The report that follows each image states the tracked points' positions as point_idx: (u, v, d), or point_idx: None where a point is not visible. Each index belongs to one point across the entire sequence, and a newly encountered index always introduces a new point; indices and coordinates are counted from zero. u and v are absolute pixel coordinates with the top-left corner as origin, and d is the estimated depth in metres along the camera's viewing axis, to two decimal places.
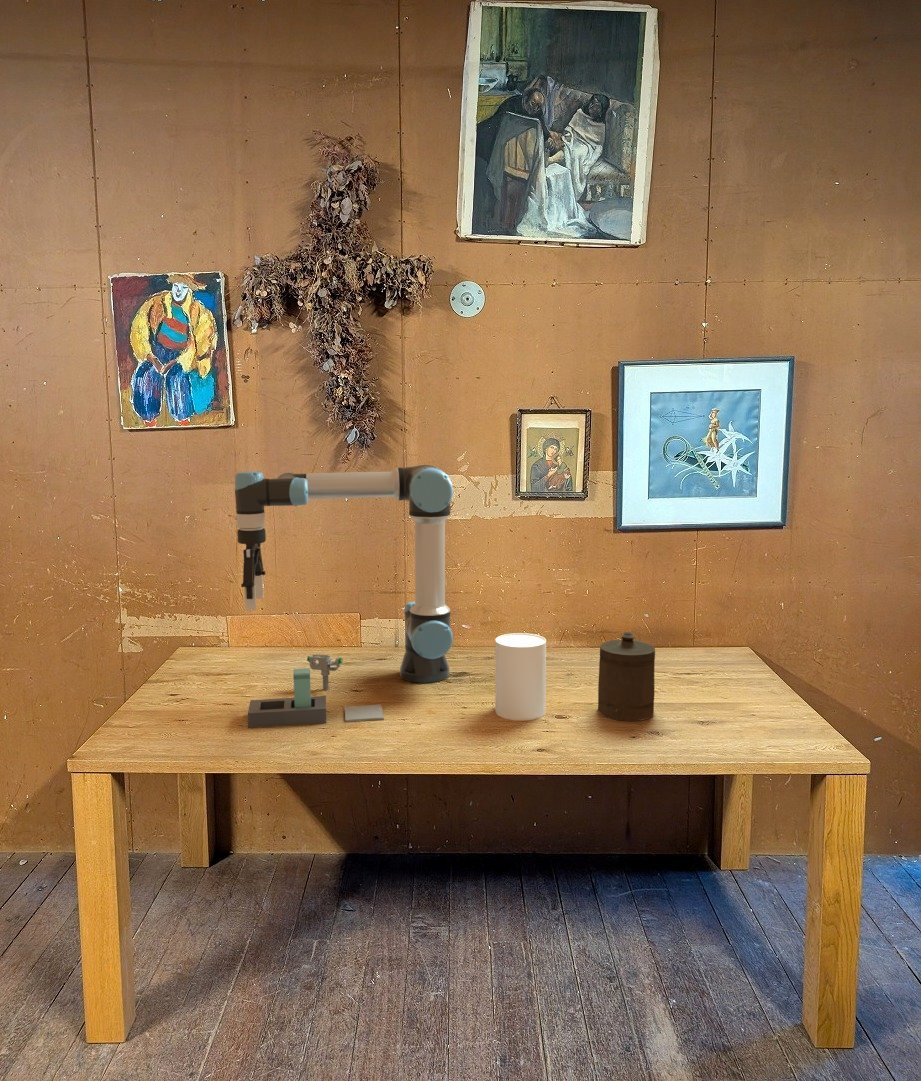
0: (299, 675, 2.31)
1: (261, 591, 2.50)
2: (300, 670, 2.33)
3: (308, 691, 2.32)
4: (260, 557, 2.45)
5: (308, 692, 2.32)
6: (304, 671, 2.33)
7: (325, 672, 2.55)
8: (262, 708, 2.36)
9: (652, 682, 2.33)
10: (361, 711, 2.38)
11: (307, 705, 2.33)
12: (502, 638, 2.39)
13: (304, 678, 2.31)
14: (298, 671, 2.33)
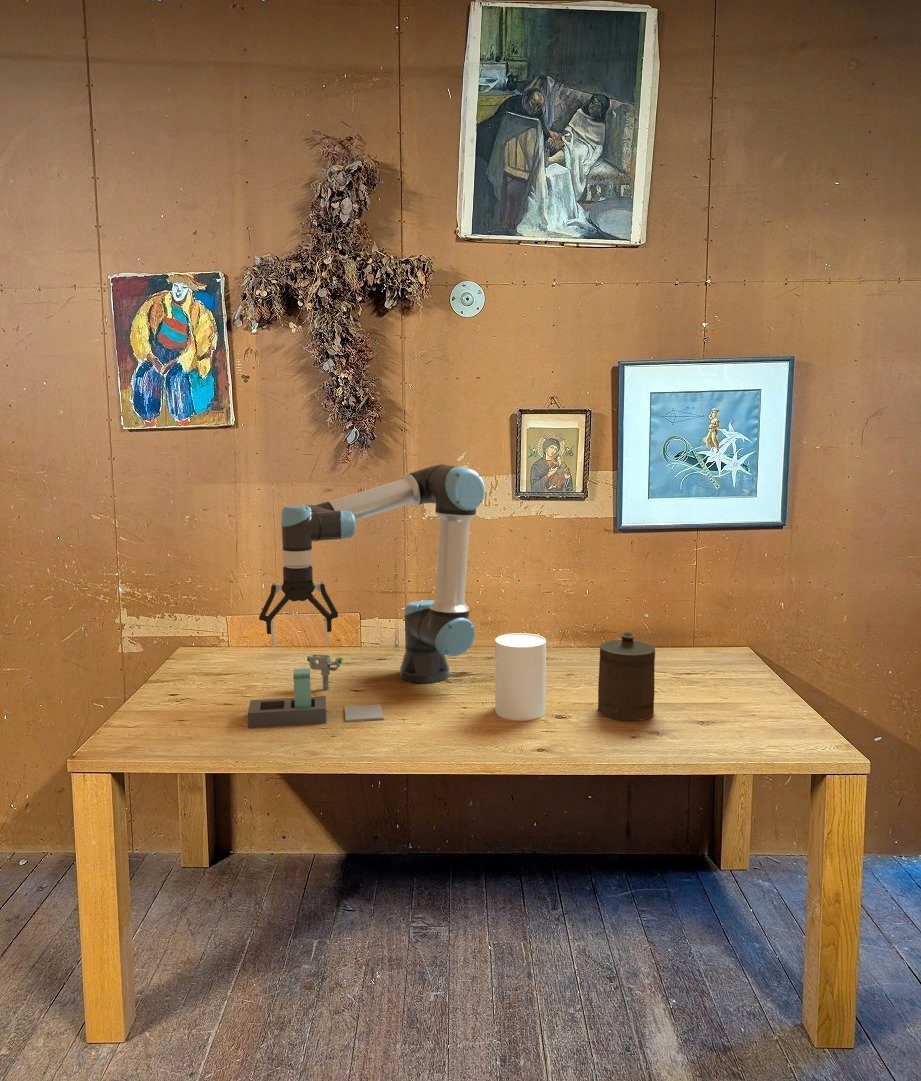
0: (299, 675, 2.31)
1: (324, 637, 2.31)
2: (300, 670, 2.33)
3: (308, 691, 2.32)
4: (309, 599, 2.28)
5: (308, 692, 2.32)
6: (304, 671, 2.33)
7: (325, 672, 2.55)
8: (262, 708, 2.36)
9: (652, 682, 2.33)
10: (361, 711, 2.38)
11: (307, 705, 2.33)
12: (502, 638, 2.39)
13: (304, 678, 2.31)
14: (298, 671, 2.33)
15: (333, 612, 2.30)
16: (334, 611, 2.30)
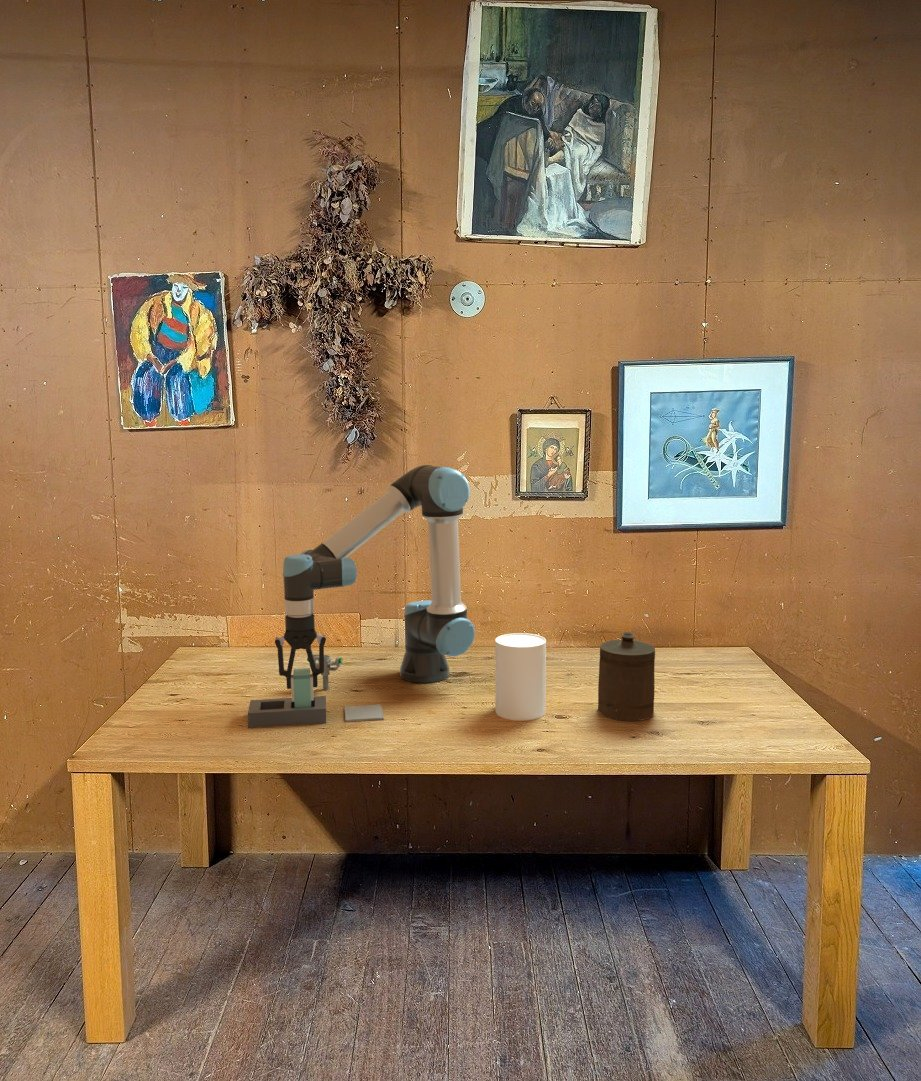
0: (299, 675, 2.31)
1: (310, 692, 2.33)
2: (300, 670, 2.33)
3: (308, 691, 2.32)
4: (306, 649, 2.31)
5: (308, 692, 2.32)
6: (304, 671, 2.33)
7: (325, 672, 2.55)
8: (262, 708, 2.36)
9: (652, 682, 2.33)
10: (361, 711, 2.38)
11: (307, 705, 2.33)
12: (502, 638, 2.39)
13: (304, 678, 2.31)
14: (298, 671, 2.33)
15: (321, 667, 2.32)
16: (322, 667, 2.32)
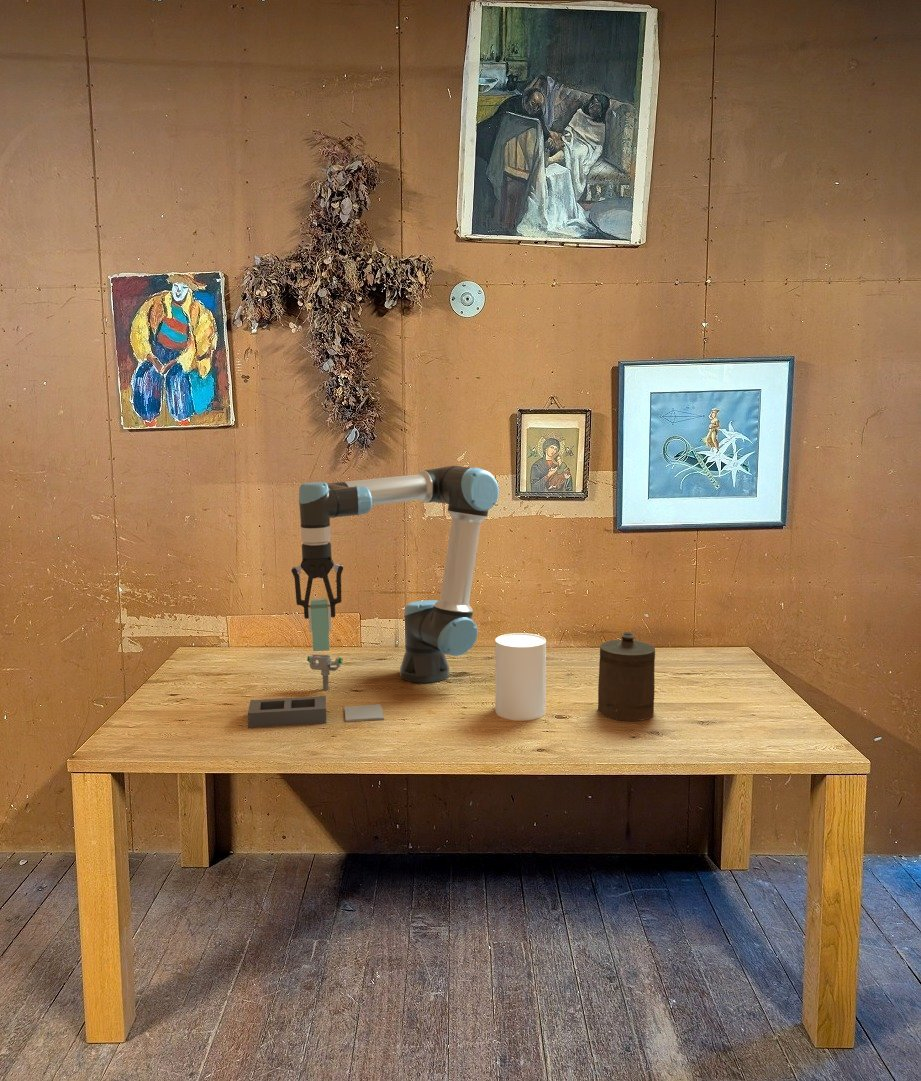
0: (316, 604, 2.29)
1: (328, 622, 2.31)
2: (318, 600, 2.31)
3: (326, 621, 2.30)
4: (324, 578, 2.28)
5: (326, 622, 2.30)
6: (321, 601, 2.30)
7: (325, 672, 2.55)
8: (262, 708, 2.36)
9: (652, 682, 2.33)
10: (361, 711, 2.38)
11: (324, 635, 2.30)
12: (502, 638, 2.39)
13: (321, 607, 2.29)
14: (315, 600, 2.31)
15: (338, 596, 2.30)
16: (339, 596, 2.30)
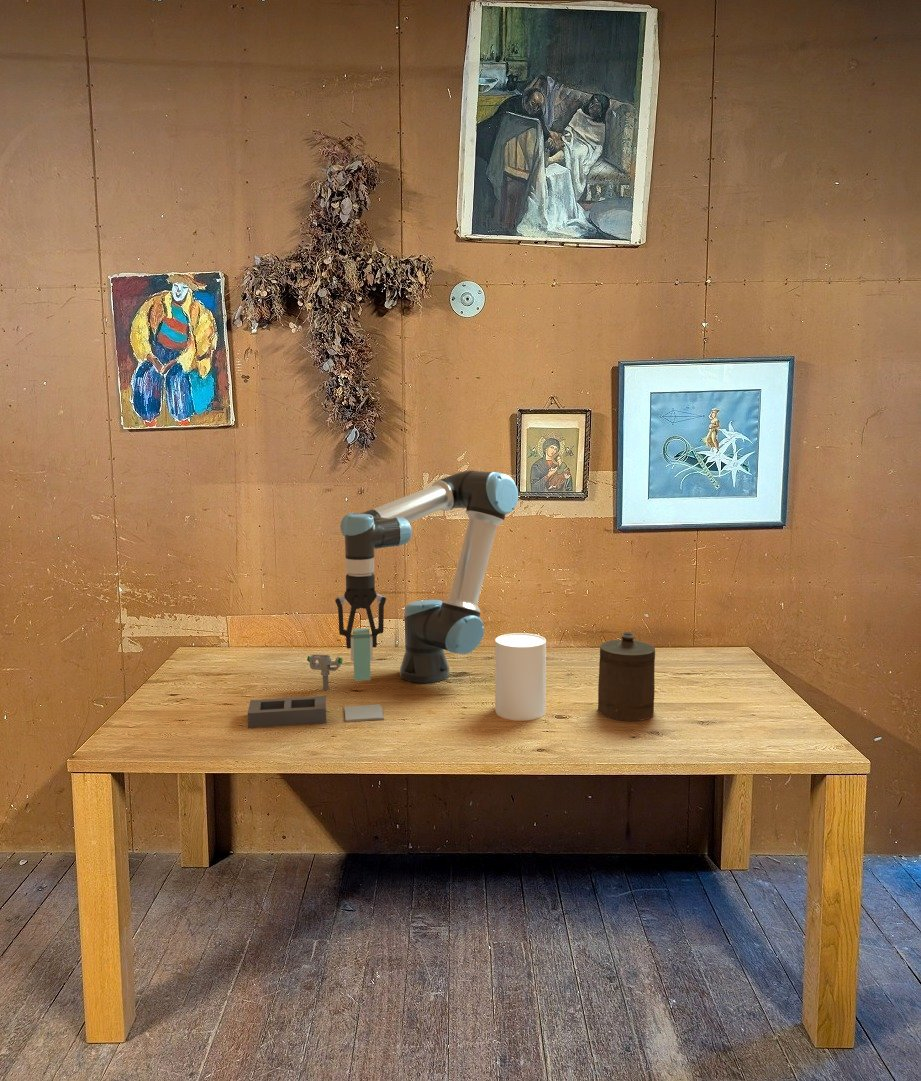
0: (359, 634, 2.32)
1: None
2: (360, 630, 2.34)
3: (368, 651, 2.33)
4: (367, 608, 2.31)
5: (368, 652, 2.33)
6: (364, 631, 2.33)
7: (325, 672, 2.55)
8: (262, 708, 2.36)
9: (652, 682, 2.33)
10: (361, 711, 2.38)
11: (366, 665, 2.33)
12: (502, 638, 2.39)
13: (364, 638, 2.32)
14: (357, 630, 2.33)
15: (380, 627, 2.33)
16: (382, 627, 2.33)
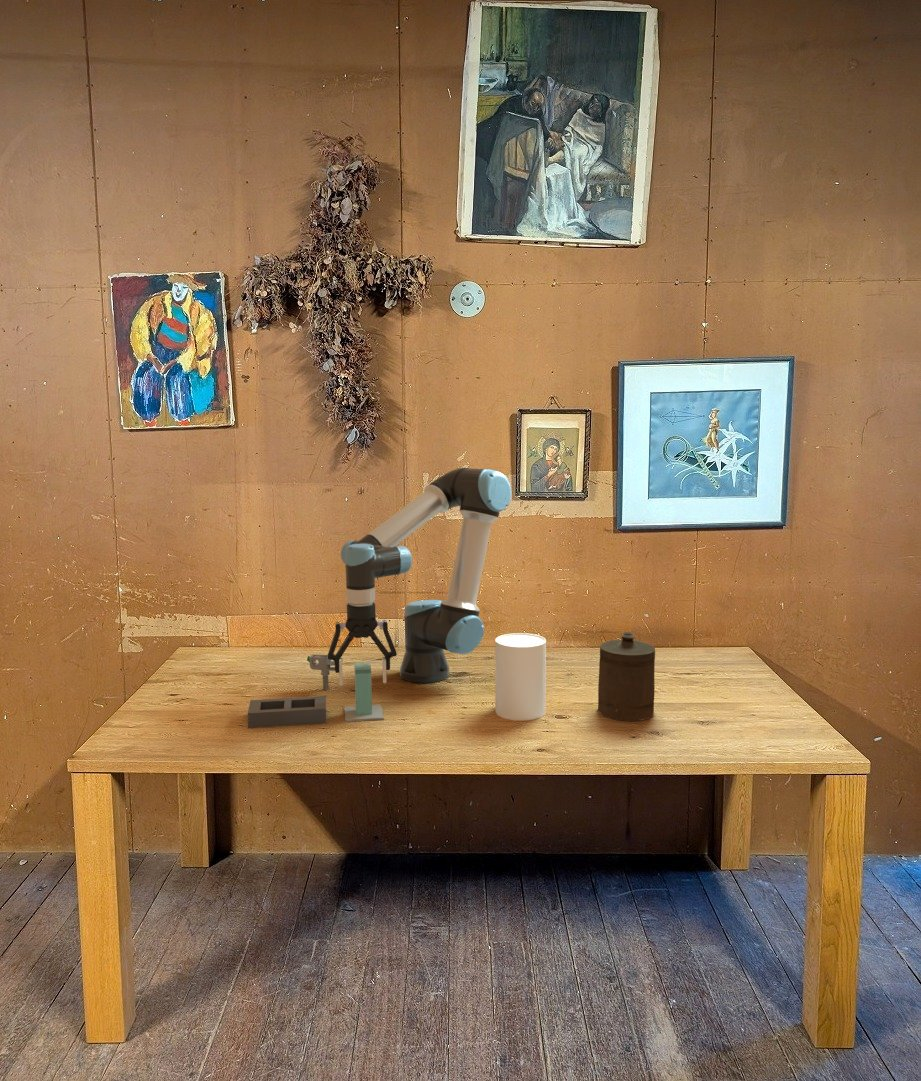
0: (360, 669, 2.33)
1: (383, 675, 2.36)
2: (361, 665, 2.35)
3: (369, 685, 2.34)
4: (371, 636, 2.33)
5: (369, 686, 2.34)
6: (365, 666, 2.35)
7: (325, 672, 2.55)
8: (262, 708, 2.36)
9: (652, 682, 2.33)
10: None
11: (367, 700, 2.35)
12: (502, 638, 2.39)
13: (365, 673, 2.34)
14: (359, 665, 2.35)
15: (392, 650, 2.35)
16: (393, 650, 2.35)
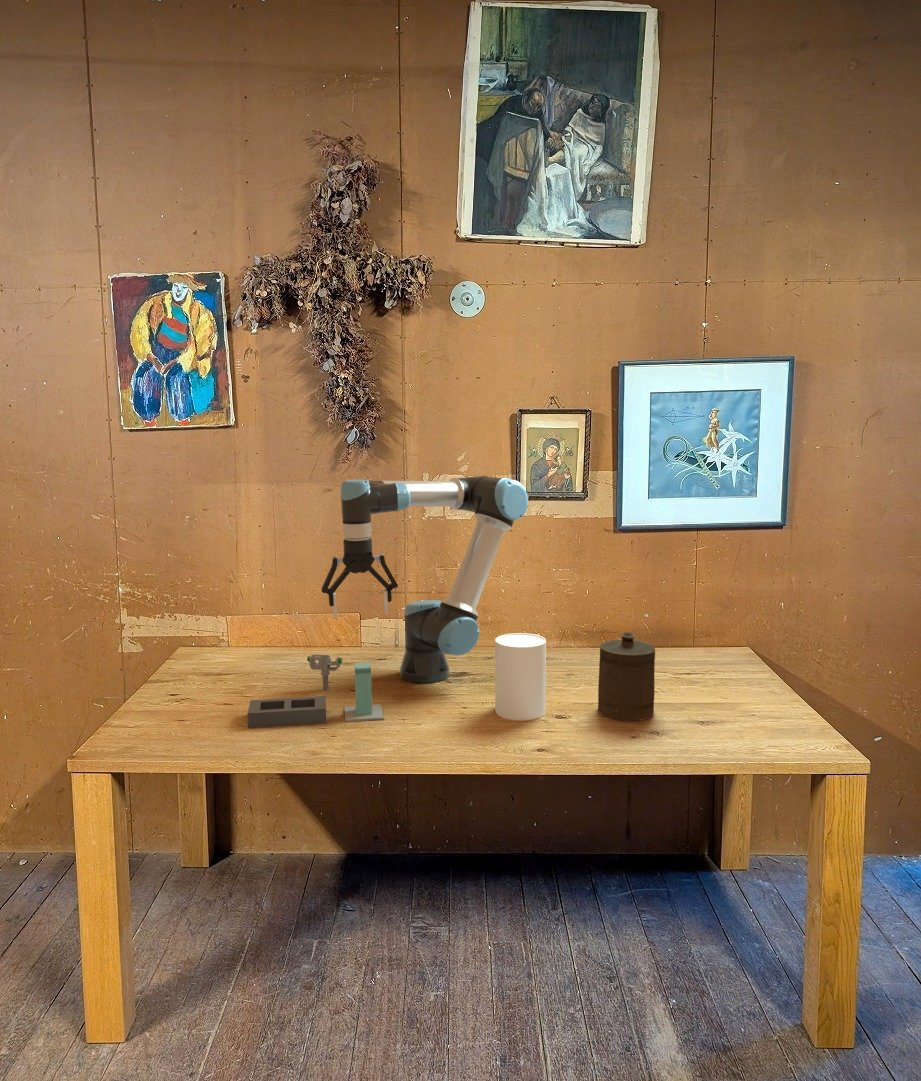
0: (360, 669, 2.33)
1: (385, 607, 2.38)
2: (361, 665, 2.35)
3: (369, 685, 2.34)
4: (370, 570, 2.34)
5: (369, 686, 2.34)
6: (365, 666, 2.35)
7: (325, 672, 2.55)
8: (262, 708, 2.36)
9: (652, 682, 2.33)
10: None
11: (367, 700, 2.35)
12: (502, 638, 2.39)
13: (365, 673, 2.34)
14: (359, 665, 2.35)
15: (393, 582, 2.37)
16: (394, 581, 2.37)
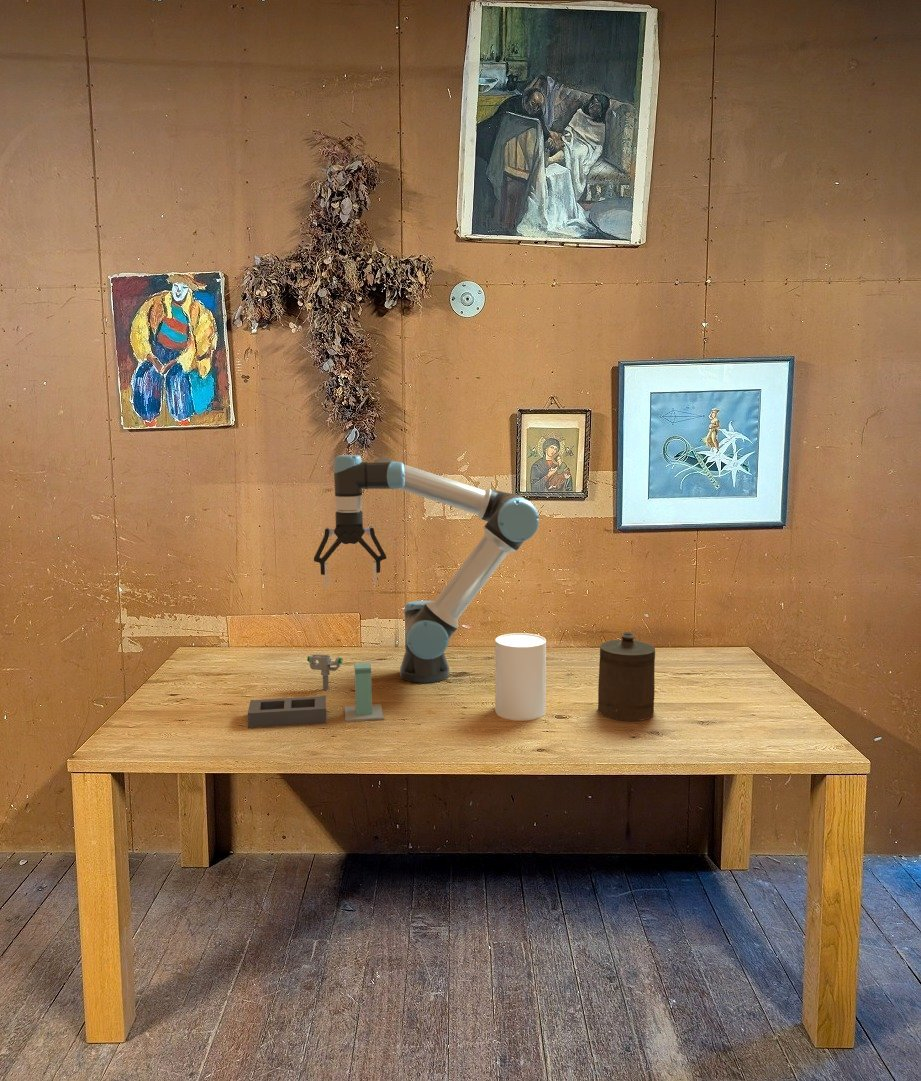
0: (360, 669, 2.33)
1: (373, 577, 2.49)
2: (361, 665, 2.35)
3: (369, 685, 2.34)
4: (360, 541, 2.46)
5: (369, 686, 2.34)
6: (365, 666, 2.35)
7: (325, 672, 2.55)
8: (262, 708, 2.36)
9: (652, 682, 2.33)
10: None
11: (367, 700, 2.35)
12: (502, 638, 2.39)
13: (365, 673, 2.34)
14: (359, 665, 2.35)
15: (382, 554, 2.48)
16: (383, 553, 2.48)
